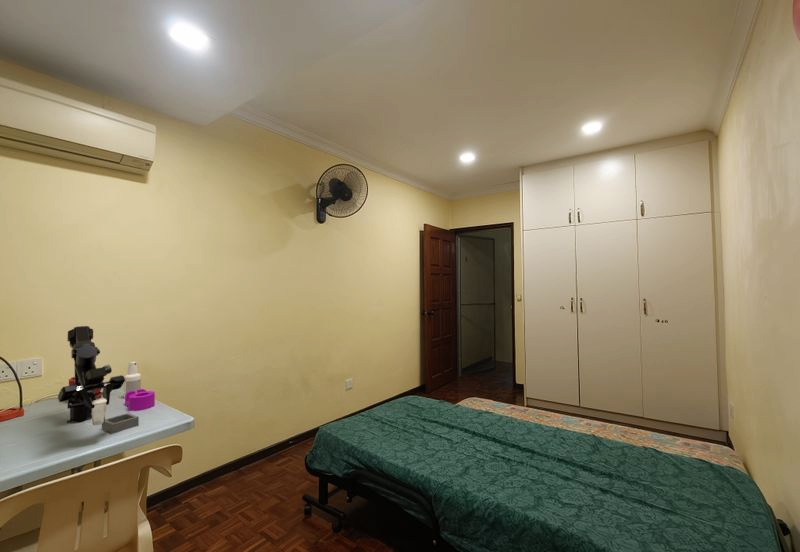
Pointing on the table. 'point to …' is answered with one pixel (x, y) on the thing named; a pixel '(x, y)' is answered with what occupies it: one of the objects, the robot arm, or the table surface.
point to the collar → (120, 423)
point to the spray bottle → (132, 379)
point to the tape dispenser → (140, 400)
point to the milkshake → (98, 411)
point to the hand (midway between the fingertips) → (100, 406)
